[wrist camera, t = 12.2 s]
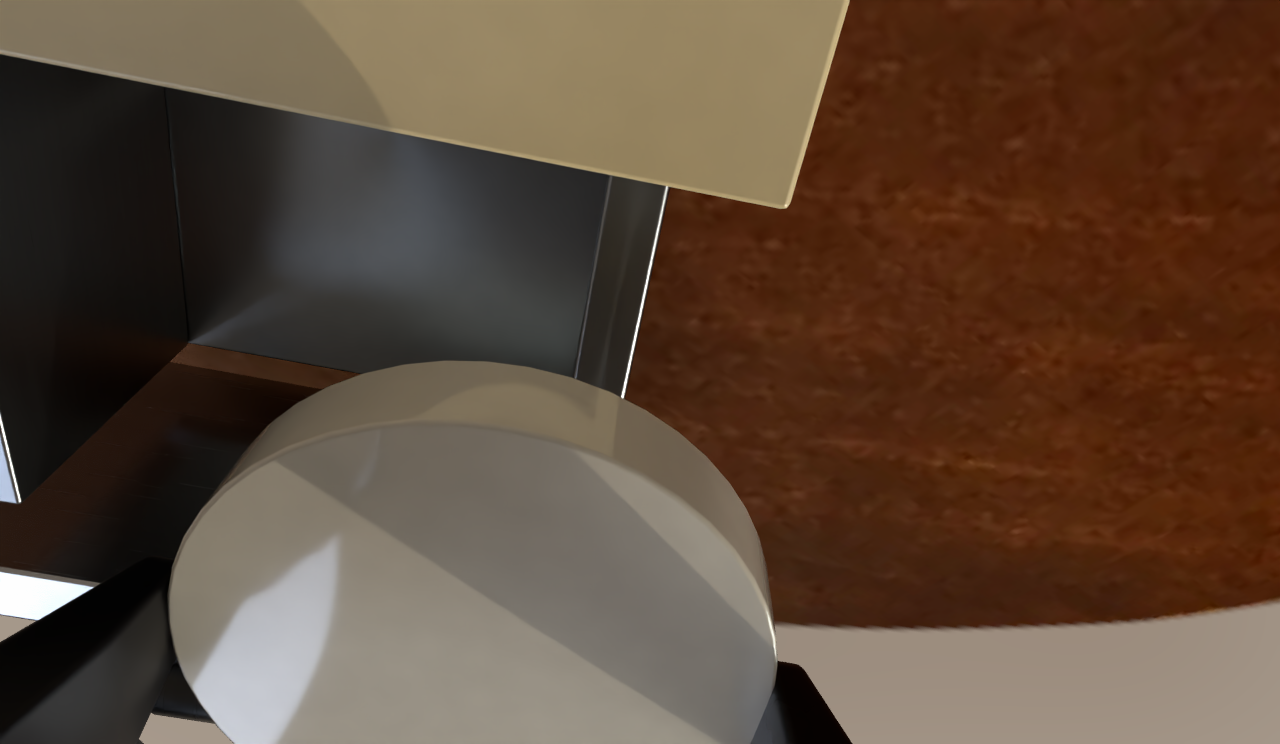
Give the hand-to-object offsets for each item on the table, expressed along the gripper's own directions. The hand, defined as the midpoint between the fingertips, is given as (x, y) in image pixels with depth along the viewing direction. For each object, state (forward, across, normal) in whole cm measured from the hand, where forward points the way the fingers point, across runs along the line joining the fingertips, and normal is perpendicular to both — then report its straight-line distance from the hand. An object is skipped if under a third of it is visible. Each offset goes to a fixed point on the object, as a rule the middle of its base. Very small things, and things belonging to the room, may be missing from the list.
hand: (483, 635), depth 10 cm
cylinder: (+1, 0, 0) cm, 1 cm away
